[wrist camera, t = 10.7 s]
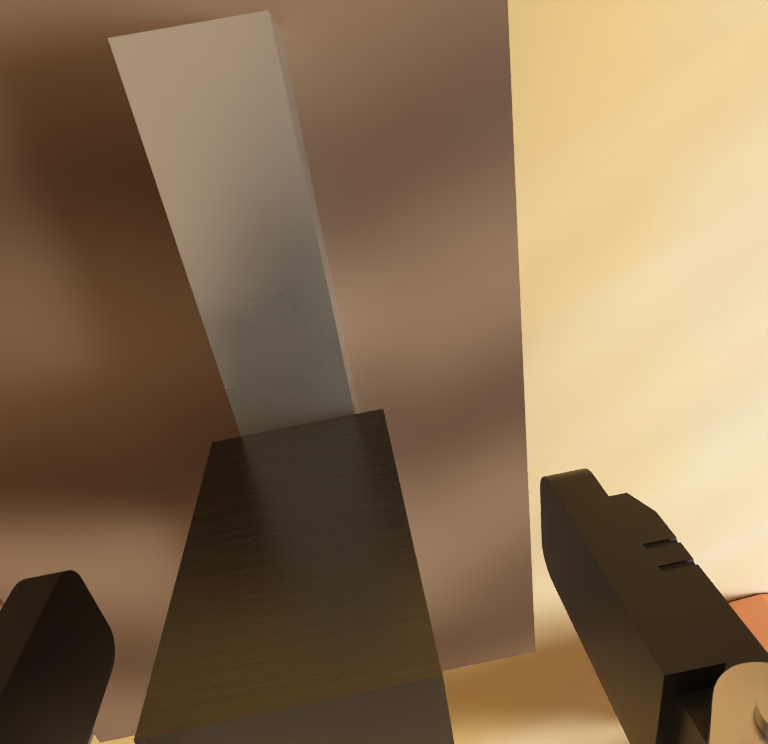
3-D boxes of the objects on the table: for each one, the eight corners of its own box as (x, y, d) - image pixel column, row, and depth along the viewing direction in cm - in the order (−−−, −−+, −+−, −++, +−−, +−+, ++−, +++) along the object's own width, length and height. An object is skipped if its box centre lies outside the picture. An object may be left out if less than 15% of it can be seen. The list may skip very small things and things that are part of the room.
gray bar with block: (133, 52, 10) (-347, -5, 3) (308, 22, 10) (309, -112, 3) (325, 654, 17) (336, 1056, 10) (422, 633, 17) (501, 1018, 10)
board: (-299, -3, 10) (-426, -18, 8) (468, -130, 11) (500, -170, 9) (118, 682, 20) (100, 742, 18) (515, 600, 20) (534, 651, 18)
